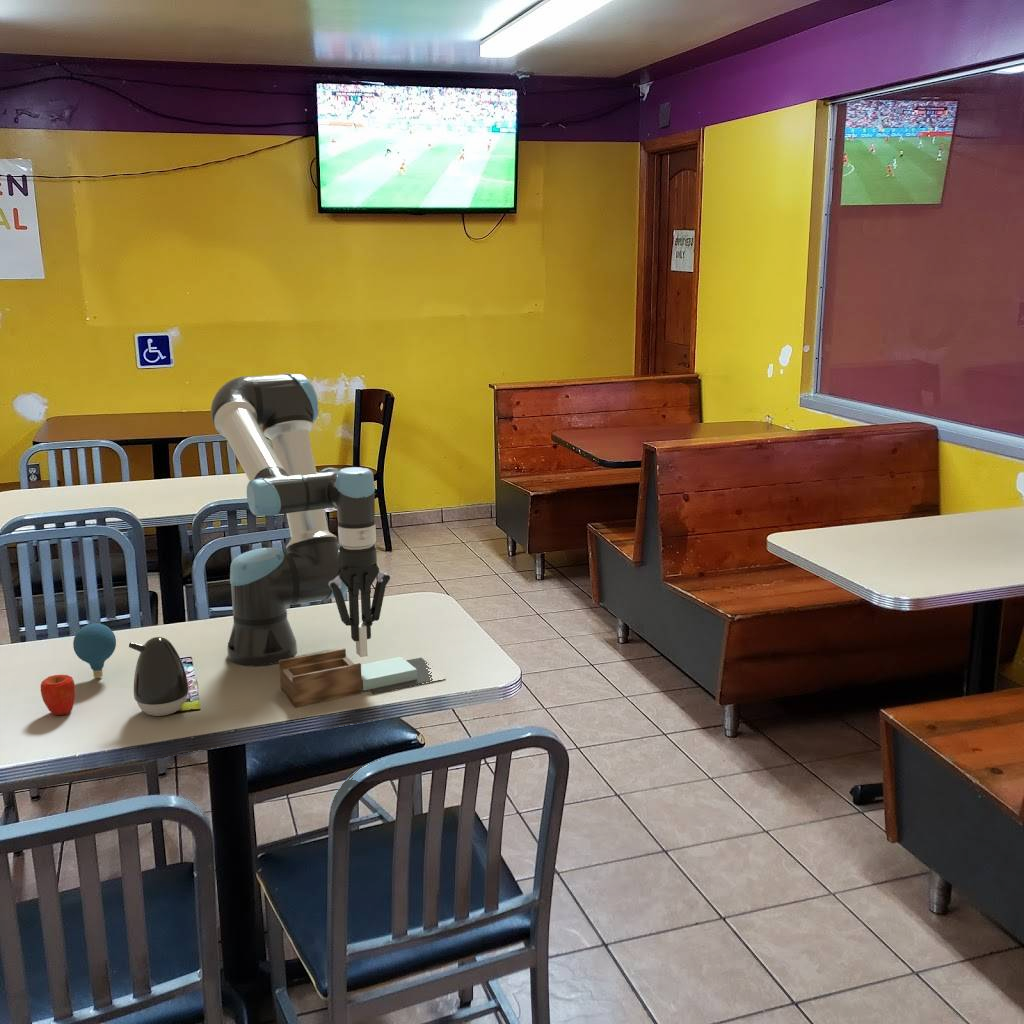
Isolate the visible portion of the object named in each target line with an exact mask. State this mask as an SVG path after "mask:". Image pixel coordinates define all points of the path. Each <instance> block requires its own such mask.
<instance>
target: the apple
mask: <svg viewBox="0 0 1024 1024" xmlns="http://www.w3.org/2000/svg"><path fill="white" fill-rule="evenodd" d="M40 683H41V684H40V694H41V697H42V701H43V703H44V704H45V707H46V708H47V709H48V711H49V712H50V713H51V714H53V715H55V716H63V715H68V714H69V713H71V712H72V710H73V709H74V703H75V697H76V696H75V695H76V684H75V681H74V678H73V677H72V676H71V675H68V674H54V675H50V676H48V677H46V678H44V679H43V680H42V681H41V682H40Z"/></svg>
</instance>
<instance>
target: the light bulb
mask: <svg viewBox="0 0 1024 1024" xmlns="http://www.w3.org/2000/svg"><path fill="white" fill-rule="evenodd" d="M72 644H73V651H74V653H75V655H76V656H77V658H79V659H80V660H81V661H83V662H85V663H86V664H88V665H89V666H90V669H91V670H92V674H93V677H94V678H95V679H101V678H102V677H103V676H104V675H103V673H104V671H103V668H104V666H105V662H106V661H107V660H108V659H110V657H111V656H112V655H113V654H114V652H115V650H116V647H117V638H116V635H115V632H113V629H112V628H110V627H109V626H107V625H105V624H103V623H100V622H99V623H97V622H96V623H88V624H86V625H84V626H82V627H81V628H80V629H79V630H78V631H76V633H75V636H74V637H73V642H72Z"/></svg>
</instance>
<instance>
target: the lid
mask: <svg viewBox="0 0 1024 1024" xmlns="http://www.w3.org/2000/svg"><path fill="white" fill-rule="evenodd" d="M361 678H362V692H363V691H368V690H369V689H373V688H378V687H383V686H387V685H392V684H397V683H401V682H406V681H411V680H415V679H417V669H416V668H414V667H413V666H412V665H411V664H410V663H408V662H407V661H406V659H405V658H403V657H402V656H397V657H393V658H387V659H381V660H378V661H373V662H367V663H363V664H362V663H361Z"/></svg>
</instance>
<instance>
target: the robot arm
mask: <svg viewBox="0 0 1024 1024" xmlns="http://www.w3.org/2000/svg"><path fill="white" fill-rule="evenodd" d="M210 405H211V406H210V417H211V422H212V424H213V426H214V428H215V430H216V431H217V433H218V434H220V436H222V437H224V438H226V440H227V442H228V444H229V445H230V448H231V449H232V451H233V453H234V455H235V457H236V459H237V460H238V462H239V464H240V466H241V468H242V469H243V471H244V473H245V475H246V477H247V479H248V483H247V485H246V501H247V504H248V508H249V511H250V512H251V513H252V514H253V515H254V516H256V517H263V516H270V517H273V516H278V515H285V514H286V518H287V523H288V527H289V529H288V530H289V535H290V540H289V542H288V543H287V545H286V547H285V548H286V552H287V553H284V551H283V549H281V548H279V547H260V548H255V549H252V550H247V551H245V552H242V553H240V554H238V555H237V556H236V557H235V558H234V559H233V560H232V561H231V563H230V569H229V571H230V572H229V583H230V587H231V588H230V589H231V601H232V602H231V604H232V605H231V606H232V615H233V618H232V619H233V624H232V628H231V631H230V637H229V639H228V643H227V649H226V650H227V658H228V660H229V661H231V662H232V663H234V664H238V665H241V666H242V665H243V666H252V667H253V666H268V665H273V664H277V663H278V664H279V660H283V659H288V658H293V657H294V656H295V655H296V654H297V652H298V648H297V647H298V646H297V645H298V644H297V639H296V636H295V634H294V632H293V629H292V626H291V625H290V622H289V620H288V611H287V608H288V606H293V605H299V604H305V603H311V602H316V601H317V602H318V601H323V600H325V601H328V600H330V599H332V598H333V599H334V600H335V603H336V606H337V610H338V613H339V618H340V620H341V622H342V623H343V624H344V625H345V626H349V627H350V632H351V633H350V636H351V640H352V641H353V642H355V652H356V654H357V656H359V657H360V658H364V657H368V640H370V639H371V638H372V626H373V624H374V622H376V621H379V620H380V616H381V613H382V612H381V611H382V606H383V602H384V597H385V591H386V588H387V587H386V586H387V584H388V583H389V581H390V579H391V576H390V575H389V574H388V573H386V572H385V571H381V570H380V568H379V566H378V562H377V561H378V557H377V556H378V555H377V554H378V553H377V545H376V544H375V543H376V542H377V535H376V534H377V532H376V529H377V528H376V527H377V526H376V500H375V497H376V493H375V491H376V485H375V481H374V480H375V479H374V473H373V471H372V470H371V469H369V468H366V467H360V466H359V467H357V466H352V467H344V468H335V467H326V468H323V469H321V470H320V471H319V472H317V467H316V463H315V457H314V454H313V449H312V444H311V439H310V433H311V432H312V430H313V429H314V422H315V421H317V419H318V418H319V411H320V410H319V399H318V395H317V393H316V389H315V388H314V385H313V383H312V382H311V380H310V379H309V378H308V377H307V376H305V375H303V374H301V373H282V374H281V373H280V374H269V375H268V374H267V375H266V374H265V375H264V374H263V375H253V376H249V375H246V376H245V375H244V376H239V377H235V378H232V379H230V380H229V381H226V383H224V384H223V385H222V386H221V387H220V388H219V389H218V390H217V392H216V393H215V395H214V397H213V398H212V402H211V404H210ZM261 427H262V428H261ZM268 439H269V440H271V444H272V445H271V444H270V442H269V440H268ZM332 508H333V509H335V510H336V512H337V513H336V514H337V536H336V535H335V534H333V533H332V532H330V530H329V526H328V522H327V517H326V512H325V510H326V509H332ZM375 580H376V582H375ZM374 582H375V586H374V591H373V596H372V603H371V593H372V585H373V584H374ZM347 592H348V606H349V607H348V608H349V610H348V608H347V604H346V601H345V598H344V595H345V594H346V593H347ZM359 596H360V605H359ZM359 607H360V608H361V609H360V608H359ZM360 611H361V621H362V622H360Z"/></svg>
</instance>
